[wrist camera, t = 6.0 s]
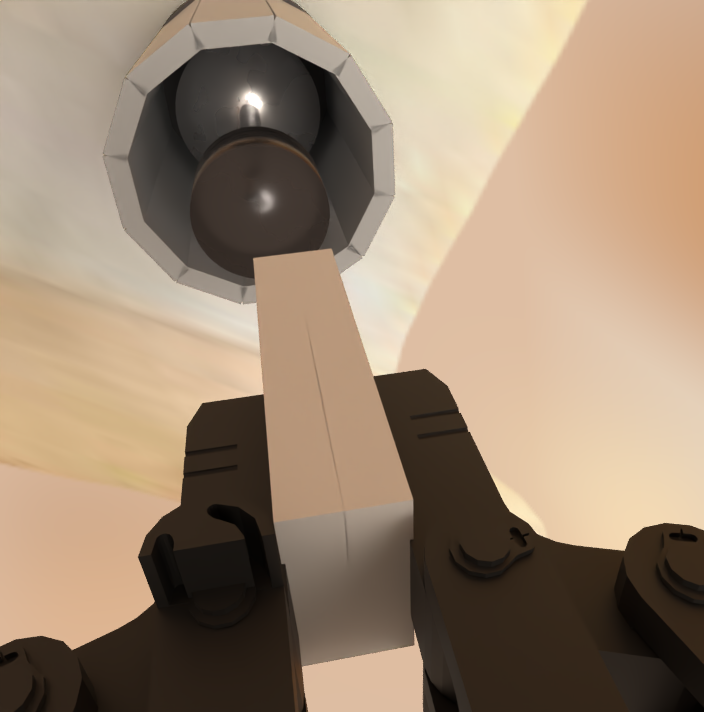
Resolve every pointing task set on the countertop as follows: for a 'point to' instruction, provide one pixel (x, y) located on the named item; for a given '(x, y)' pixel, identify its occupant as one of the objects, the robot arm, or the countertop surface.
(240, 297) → the press beaker
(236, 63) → the plunger
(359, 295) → the countertop surface
